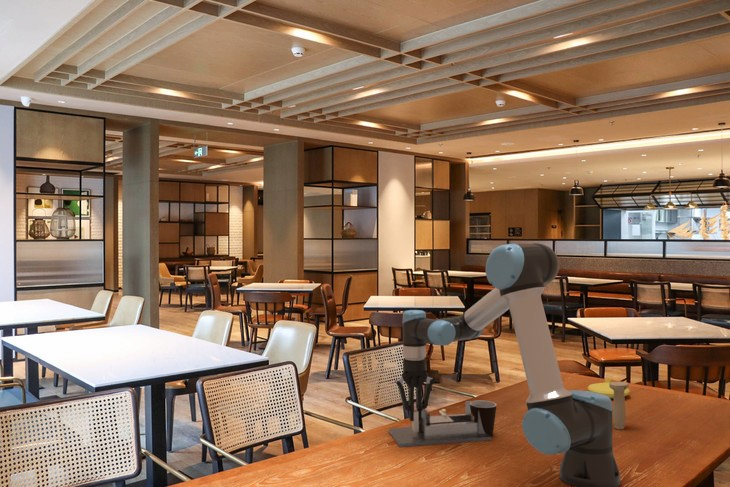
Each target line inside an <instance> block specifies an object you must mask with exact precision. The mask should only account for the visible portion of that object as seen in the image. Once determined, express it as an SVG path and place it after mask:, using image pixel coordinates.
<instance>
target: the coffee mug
mask: <svg viewBox="0 0 730 487" xmlns="http://www.w3.org/2000/svg"><path fill="white" fill-rule="evenodd" d="M471 401H472V402H470V409H471V418H472V422H473V421H474V422H477V421H478V411H479V413H480V418H481V422H482V427H483V429H484V432H485V433H486V434H487V435H490V436H491V438H492V437H493V436H494V428H495V423H496V421H495V420H496V413H497V405H498V404H497V403H496V402H493V401H489V400H483V399H482V400H480V399H479V400H471ZM473 405H480V406H482V407H476V406H473Z"/></svg>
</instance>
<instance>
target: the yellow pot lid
mask: <svg viewBox="0 0 730 487" xmlns="http://www.w3.org/2000/svg"><path fill="white" fill-rule="evenodd" d="M612 382H613V381H612V378H608V377H607V378H605V380H604V382H598V383H592V384H589V385H588V386H587V390H588V392H595V393H599V394H603V395H606V396H608V397H609V398H610V399H614V390H613V389H611V388H610V387H609V384H610V383H612ZM630 391H631V390H630V389H629V387H628V388H627V389H626V390H625V391H624V397H627V396H628V395H629V394H630Z"/></svg>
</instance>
